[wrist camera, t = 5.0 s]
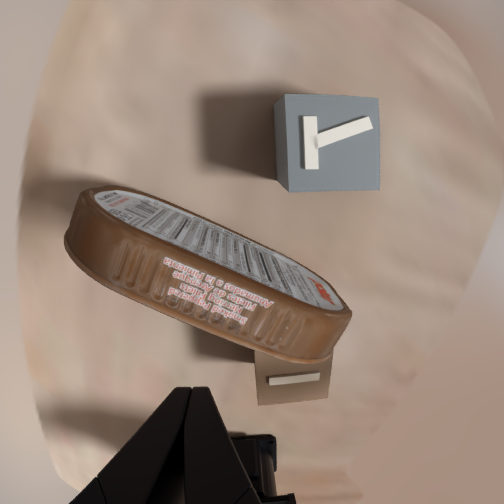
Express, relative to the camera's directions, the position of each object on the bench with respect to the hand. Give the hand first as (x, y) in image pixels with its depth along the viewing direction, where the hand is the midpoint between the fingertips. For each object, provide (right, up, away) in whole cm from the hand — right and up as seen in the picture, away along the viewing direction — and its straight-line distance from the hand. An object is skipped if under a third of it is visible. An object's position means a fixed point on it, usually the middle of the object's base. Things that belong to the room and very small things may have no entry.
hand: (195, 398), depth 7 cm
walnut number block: (+4, -2, +15) cm, 15 cm away
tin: (-1, +4, +12) cm, 13 cm away
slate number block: (+5, +10, +11) cm, 15 cm away
